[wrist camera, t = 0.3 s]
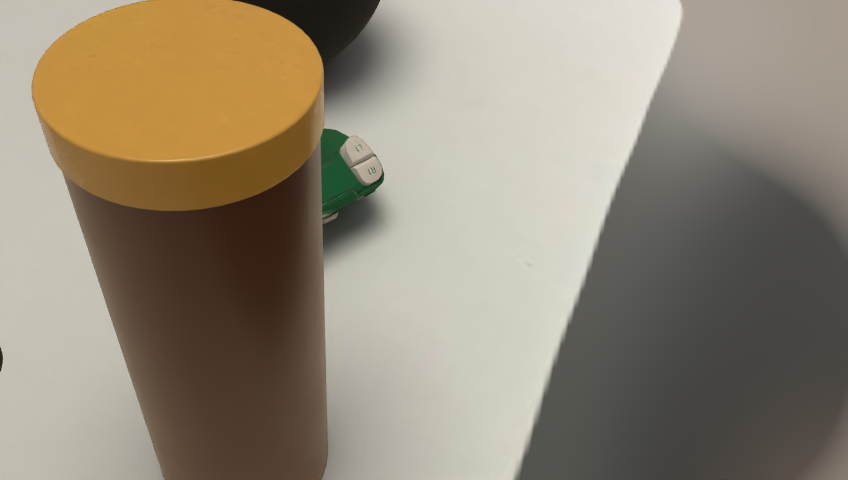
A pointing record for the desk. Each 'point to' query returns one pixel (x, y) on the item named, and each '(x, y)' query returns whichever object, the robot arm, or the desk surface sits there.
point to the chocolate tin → (203, 223)
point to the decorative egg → (324, 20)
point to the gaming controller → (346, 171)
